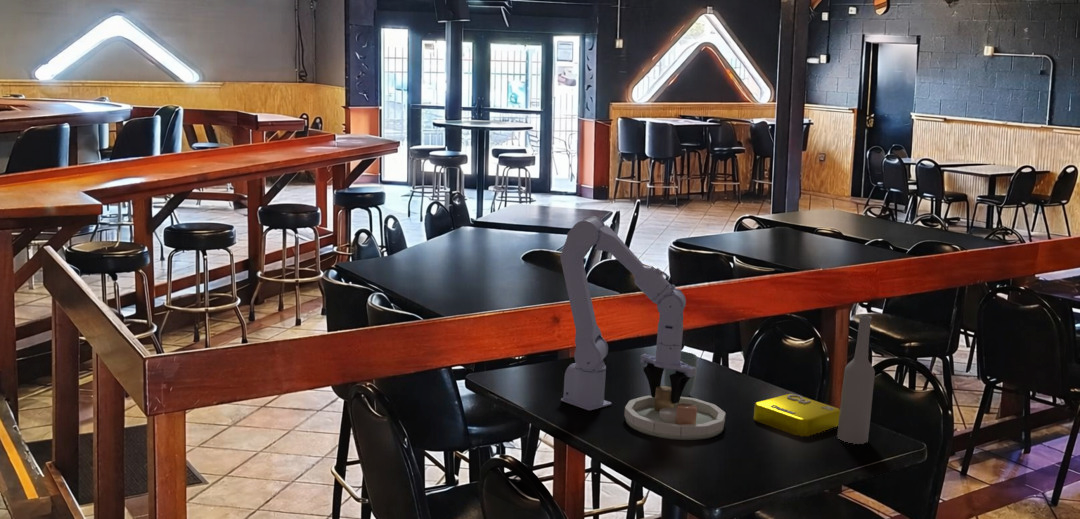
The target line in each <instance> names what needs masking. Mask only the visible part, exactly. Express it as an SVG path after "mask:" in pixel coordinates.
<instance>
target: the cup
mask: <svg viewBox="0 0 1080 519" xmlns="http://www.w3.org/2000/svg"><path fill="white" fill-rule="evenodd" d="M681 362H683V363H686V364H688V365H690V366H692V367H695V368H696V369H697V365H698V357H697V354H695V353H692V352H687V351H681ZM674 373H675V372H674V371H670V370H667V369H664V371H663V381H664V386H668V387H671V381H670V377H669V375H671V374H674ZM696 377H697V372H696V373H695V376H693V377H691V378H690V379H689V380H688V382H687V383H686V385H685V387H684V389H683V391H682V394H681V397H688V396H689V395H690V394H692V392H693V390H694V387H695V384H696Z"/></svg>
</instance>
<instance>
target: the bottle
mask: <svg viewBox="0 0 1080 519" xmlns="http://www.w3.org/2000/svg"><path fill="white" fill-rule="evenodd" d="M858 318H859V320H858V331H857V340H856V344H855V345H856V346H855V352H854V357H853V359H852V360H851V361H849V362H848V363H847V364H846V366H845V368H844V373H843V381H842V390H841V397H840V407H839V409H840V414H839V423H838V428H837V435H836V438H837V437H838V438H837V439H840V440H842V441H844V442H843V443H845V442H848V443H847V444H849V443H853V444H852V445H855V444H858V445H859V444H862V445H865V444H864V443H866V442H867V443H868V442H869V434H870V433H869V432H870V424H871V415H872V405H873V394H874V385H875V384H874V383H875V374H876V371H875V369H874V367H873V366H872V364H871V362H870V361H869V349H870V348H869V346H870V345H869V344H870V343H869V342H870V334H871V324H872V323H871V322H872V320H873V317H872V316H871V315H868V314H867V315H865V314H860V315H859V316H858ZM840 440H839V441H840ZM842 441H841V442H842ZM867 443H866V444H867Z"/></svg>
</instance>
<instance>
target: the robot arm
mask: <svg viewBox="0 0 1080 519" xmlns="http://www.w3.org/2000/svg"><path fill="white" fill-rule="evenodd" d="M595 245H596V246H595ZM594 246H595V248H594V249H595V250H596V251H603V252H607V253H610V254H611V255H612V256H613V257H614V259H616V260H617V261H618V262H619V263H620V264H621V265H623V267H625V268H626V269H627V270H628V271H629V272H630V273H631V274H632V275H633V278H634V285H635V286H636V287H638V289H639V290H640V291H641V292H642V293H643V294H644V295H645V296H646V297H647V298H648V299H649V300H650V301H651V302H652V303H654V304H656V306H657V307H656V308H657V309H656V310H657V311H658V314H659V317H658V323H657V335H656V336H657V337H656V347H655V348H656V349H655V355H653V354H648V353H644V354H641V355H640V364H646V366H644V367H643V372H644V375H645V376H646V379H647V382H648V386H649V390H650V396H652V397H653V398H654V397H655V393H656V387H659V386H661V384H662V378H663V376H664V369H667V370H670V371H674V372H675V373H674V374H671V375H669V377H670V381H671V403H672V404H675V403H679V400H680V397H681V394H682V391H683V389H684V387H685V385H686V383H687V382H688V380H689V379H690V378H691V377H693V376H695V373H696V374H697V368H695V367H692V366H690V365H688V364H686V363H683V362H681V352H682V347H683V345H682V344H683V335H684V334H683V333H684V323H683V322H684V309H685V307H686V305H687V299H686V296H685V295H684V293H683V291H682V290H680V289H678V288H677V287H676V285H675V284H671V283H670V282H669V281H668V280H667V279H666V278H665V277H664V276H663V275H662V270H661V269H660V268H658V267H657V268H655V267H654V266H653V265H645V264H644V263H643V262H642V261H641V260H640V259H639V258H638V256H636V255H635V253H634V252H633V251H632V250H631V249H630V248H629V247H628V246H627V244H626V243H625V242H624V241H623V240H622V239H621V238H620V236H619V235H617V234H616V232H615V231H614V230H613V229H612V228H611V227H610V226H609V225H607V224H605V223H604V221H603V220H602V219H601V218H599V217H597V216H593V215H592V216H587V217H584V219H583V220H580V221H577V222H576V223H575V224H574V225H573V226H572V227H571V228H570V230H568V232H567V233H566V239H565V242H564V244H563V247H562V250H561V252H560V257H559V258H560V263H561V267H562V272H563V276H564V283H565V286H566V290H567V295H568V301H569V306H570V310H571V313H572V317H573V318H572V319H573V322H574V327H575V335H574V336H575V337H574V344H575V352H574V356H573V357H574V361H575V362H574V363H573V362H572V363H570V364H569V366H567V368H566V369H565V372H564V378H563V379H564V381H563V397H561V399H560V401H561V402H564V403H567V404H569V405H571V406H572V405H573V406H575V407H578V408H580V409H584V410H586V411H592V410H597V409H599V408H600V409H601V408H605V407H608V406H611V405H612V402H611V401H608V400H605V390H606V371H607V365H606V364H605V361H604V359H605V358H606V357H607V355H608V353H609V345H608V343H607V341H606V340H605V338H604V337H603V335H602V331H601V328H599V325H597V320H596V315H595V314H596V313H595V310H594V305H593V301H592V297H591V296H592V295H591V291H590V288H589V283H588V278H587V273H586V269H585V263H584V259H585V258H586V256H587V255H588V253H589V252H590V251H591V248H593V247H594Z"/></svg>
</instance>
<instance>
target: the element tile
mask: <svg viewBox="0 0 1080 519" xmlns="http://www.w3.org/2000/svg"><path fill="white" fill-rule="evenodd" d="M753 411H754V412H753V420H754V421H756V422H757V423H760V424H763V425H767V426H769V427H770V428H771V427H772V428H774V429H777V430H780V431H783V432H785V431H786V432H785V433H788V434H790V435H791V434H792V435H794V436H797V435H800V436H799V437H803V436H806V437H811V436H813V434H814V435H817V434H816V433H818V434H820V432H821V433H823V432H822V431H824V432H826V431H825V430H828V429H830V428H833V427H837V426H838V423H839V414H840V408H839V407H835V406H832V405H830V404H826V403H822V402H819V401H817V400H814V399H810V398H808V397H804V396H802V395H799V394H794V393H788V394H783V395H780V396H776V397H771V398H767V399H764V400H759V401H756V402H755V403H754V408H753ZM828 431H829V430H828ZM810 435H811V436H810Z"/></svg>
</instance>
